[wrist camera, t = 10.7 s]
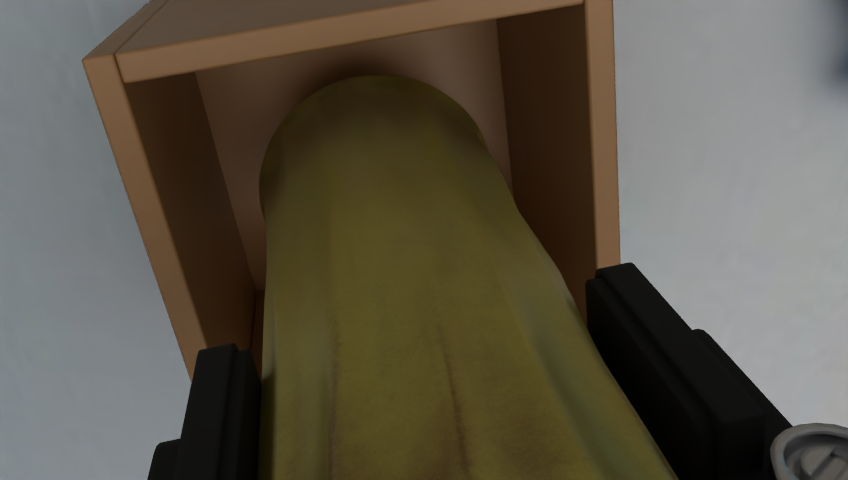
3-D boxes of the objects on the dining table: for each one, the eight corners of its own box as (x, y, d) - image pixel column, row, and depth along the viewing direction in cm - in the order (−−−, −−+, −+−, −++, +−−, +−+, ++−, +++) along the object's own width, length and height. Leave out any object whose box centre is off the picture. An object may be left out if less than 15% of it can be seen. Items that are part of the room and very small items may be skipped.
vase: (397, 326, 22) (538, 944, 9) (212, 213, 20) (57, 827, 7) (536, 163, 20) (936, 631, 8) (353, 20, 18) (488, 352, 5)
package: (242, 302, 26) (222, 475, 18) (154, -5, 22) (79, 59, 14) (531, 244, 27) (625, 388, 19) (504, -63, 22) (613, -33, 15)
